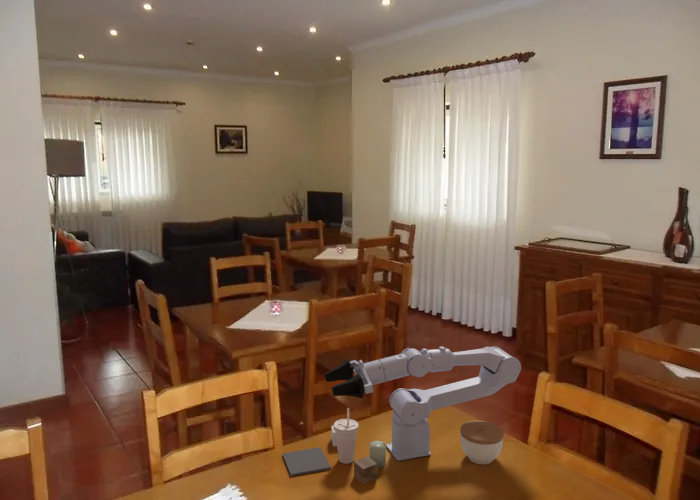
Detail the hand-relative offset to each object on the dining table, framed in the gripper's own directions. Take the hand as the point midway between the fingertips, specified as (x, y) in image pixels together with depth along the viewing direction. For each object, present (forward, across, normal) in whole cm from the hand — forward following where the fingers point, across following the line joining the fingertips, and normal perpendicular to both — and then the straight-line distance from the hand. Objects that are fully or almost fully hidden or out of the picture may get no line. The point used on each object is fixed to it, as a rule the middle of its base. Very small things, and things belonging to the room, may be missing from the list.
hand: (328, 384), depth 138 cm
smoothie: (-1, +1, +21) cm, 21 cm away
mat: (+9, 0, +20) cm, 22 cm away
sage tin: (-8, +5, +22) cm, 24 cm away
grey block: (-2, -8, +22) cm, 23 cm away
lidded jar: (-34, +10, +26) cm, 44 cm away
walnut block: (-4, +10, +21) cm, 24 cm away
